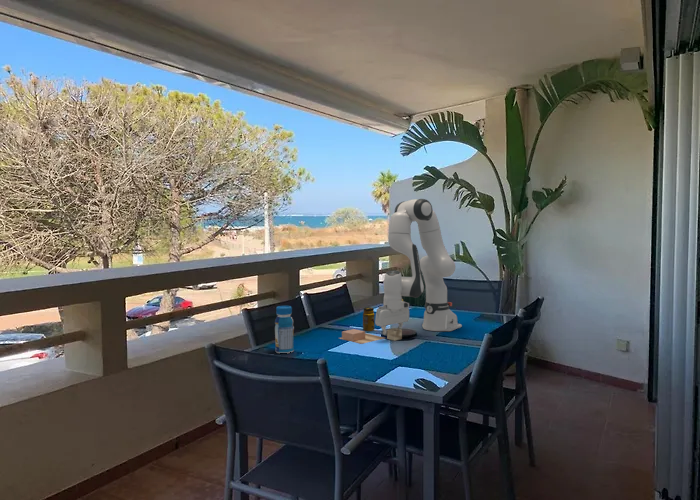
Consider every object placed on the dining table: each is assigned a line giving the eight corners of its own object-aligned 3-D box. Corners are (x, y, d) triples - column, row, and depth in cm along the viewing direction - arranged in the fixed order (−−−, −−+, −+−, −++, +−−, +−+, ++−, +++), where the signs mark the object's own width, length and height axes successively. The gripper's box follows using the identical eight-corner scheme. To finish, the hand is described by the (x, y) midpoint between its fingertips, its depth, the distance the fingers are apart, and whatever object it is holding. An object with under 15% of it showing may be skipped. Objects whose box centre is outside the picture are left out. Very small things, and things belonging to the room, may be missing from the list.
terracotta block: (354, 336, 244) (354, 329, 244) (365, 338, 238) (365, 331, 238) (342, 338, 239) (341, 331, 238) (353, 341, 233) (353, 334, 233)
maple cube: (394, 338, 241) (394, 328, 241) (401, 339, 237) (401, 329, 237) (387, 339, 238) (387, 329, 237) (394, 341, 234) (394, 331, 234)
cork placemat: (363, 333, 251) (363, 332, 251) (386, 338, 239) (386, 337, 239) (338, 338, 240) (338, 338, 240) (361, 344, 228) (361, 344, 228)
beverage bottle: (285, 355, 211) (285, 309, 210) (271, 352, 216) (270, 307, 215) (298, 350, 219) (297, 306, 217) (283, 348, 223) (282, 304, 222)
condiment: (377, 331, 256) (377, 308, 256) (364, 333, 252) (364, 310, 251) (369, 328, 263) (369, 306, 262) (356, 330, 258) (356, 308, 257)
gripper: (381, 307, 228) (381, 337, 228) (411, 303, 241) (411, 331, 242) (372, 305, 233) (372, 334, 233) (402, 301, 246) (401, 329, 247)
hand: (392, 332), depth 238 cm, fingers open, 8 cm apart
